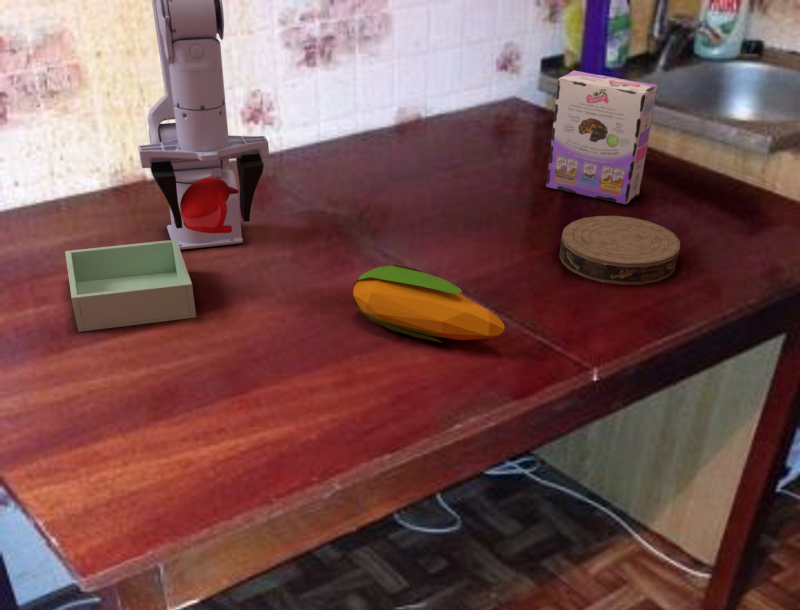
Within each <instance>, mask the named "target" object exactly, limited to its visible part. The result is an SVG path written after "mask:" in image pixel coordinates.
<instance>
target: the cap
mask: <svg viewBox="0 0 800 610" xmlns="http://www.w3.org/2000/svg"><path fill="white" fill-rule="evenodd" d="M236 193H238V194H240V190H238V188H237V189H235V188H233V187H230V186H228V185H227V184H226V183H225V182H224V181H223V180H221V179H219V178H215V177H208V178H203V179H200V180H198V181H196V182H195V183H193V184H192V185H191V186H190V187H189V188H188V189H187V190H186V191H185V193H184V194H183V196H182V199H181V203H180V213H181V217H182V220H183V223H184V226H185V227H186V228H188V229H190V230H193V231H198V232H204V233H231V232H232V226H230V225H226V226H223V225H224V222H225V218H226V215H227V205H226V201H227V200H228V198H229V196H230V194H236Z"/></svg>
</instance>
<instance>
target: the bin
mask: <svg viewBox="0 0 800 610" xmlns="http://www.w3.org/2000/svg"><path fill="white" fill-rule="evenodd" d="M64 254H65V262H66V268H67V275H68V281H69V282H68V283H69V289H70V297H71V302H72V308H73V312H74V317H75V321H76V322H75V323H76V326H77V331H78V333H82V332H90V331H99V330H105V329H114V328H121V327H122V328H123V327H129V326H130V327H131V326H138V325H146V324H147V325H148V324H154V323H161V322H170V321H179V320H187V319H193V318H194V319H195V318H197V311H196V303H195V295H194V289H193V282H192V279H191V277H190V274H189V270H188V268H187V266H186V263H185V262H186V261H185V260H184V257H183V254H182V250H180V248H179V245H178V242H177V240H171V239H168V240H159V241H148V242H140V243H130V244H120V245H112V246H111V245H110V246H102V247H101V246H100V247H91V248H82V249H71V250H65V251H64Z"/></svg>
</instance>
